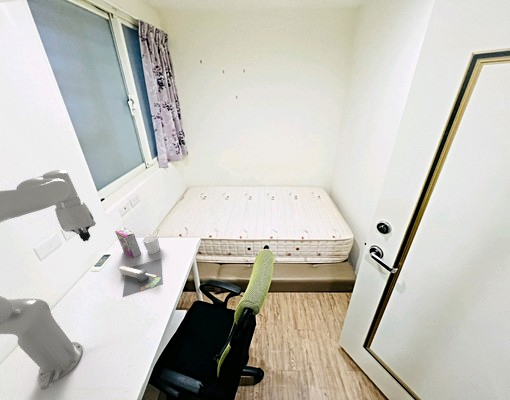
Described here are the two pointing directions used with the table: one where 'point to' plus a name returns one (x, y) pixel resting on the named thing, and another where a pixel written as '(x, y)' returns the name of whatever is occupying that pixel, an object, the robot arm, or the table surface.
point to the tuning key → (136, 273)
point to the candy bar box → (128, 242)
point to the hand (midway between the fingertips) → (86, 239)
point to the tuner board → (135, 286)
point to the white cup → (151, 243)
